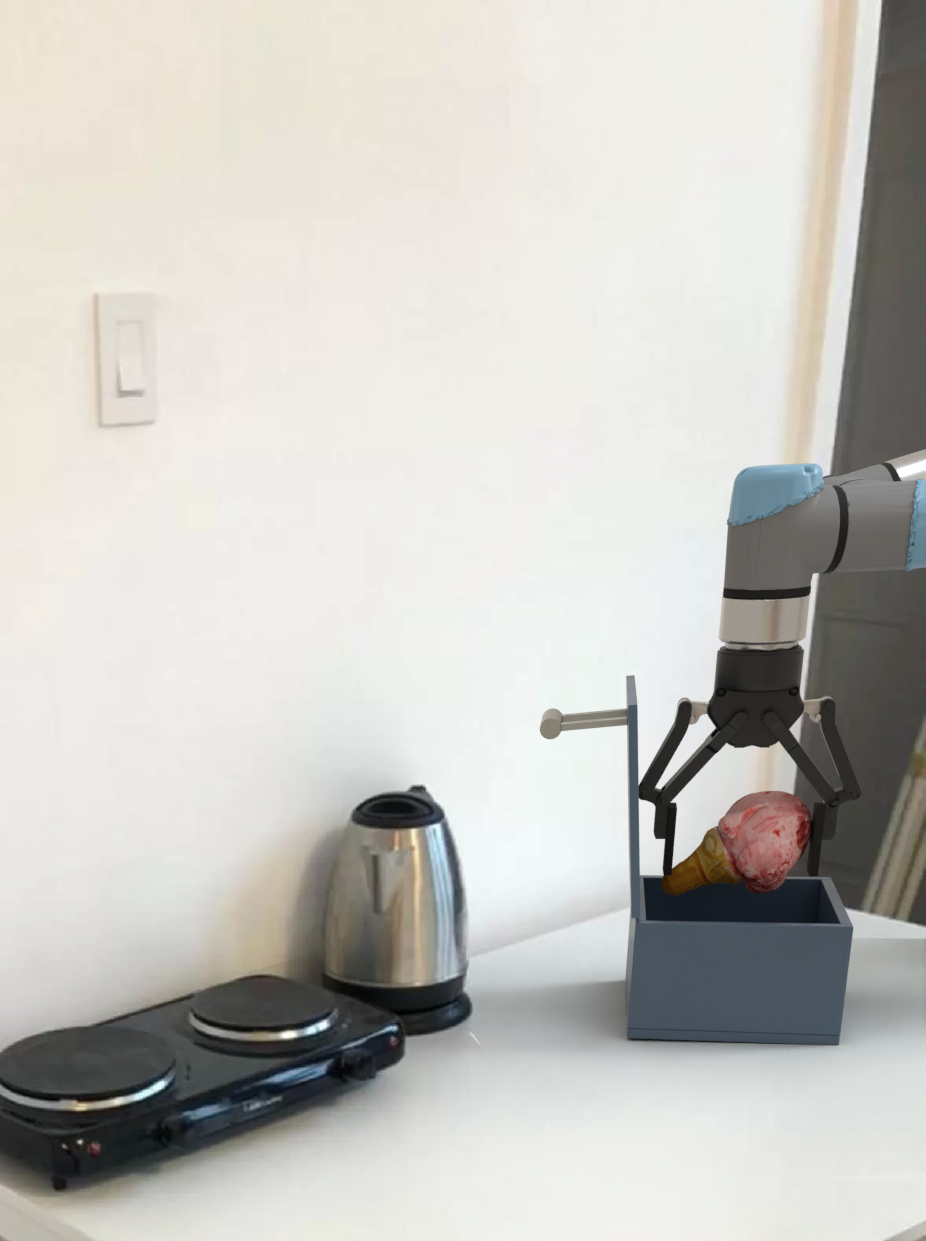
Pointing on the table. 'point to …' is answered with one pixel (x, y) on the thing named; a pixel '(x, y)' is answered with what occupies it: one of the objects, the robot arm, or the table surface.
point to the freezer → (739, 963)
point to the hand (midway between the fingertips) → (738, 872)
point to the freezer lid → (628, 716)
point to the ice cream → (747, 845)
